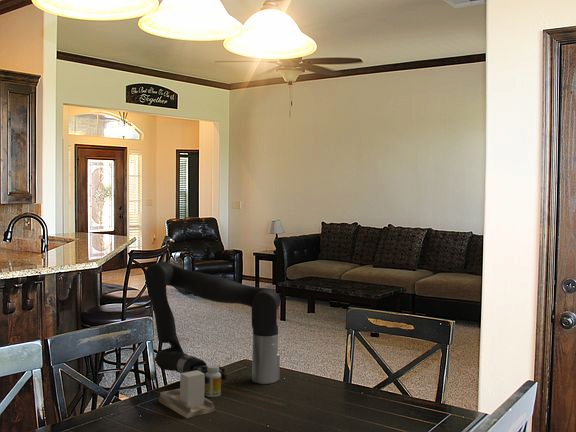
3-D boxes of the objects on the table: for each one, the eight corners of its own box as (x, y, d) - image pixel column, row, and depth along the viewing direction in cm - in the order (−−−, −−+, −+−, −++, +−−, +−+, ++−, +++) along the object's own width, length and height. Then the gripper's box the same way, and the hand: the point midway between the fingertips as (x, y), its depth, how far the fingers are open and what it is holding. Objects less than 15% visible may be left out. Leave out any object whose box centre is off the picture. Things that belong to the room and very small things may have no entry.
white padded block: (195, 400, 198) (196, 369, 198) (204, 405, 194) (204, 373, 194) (179, 404, 194) (179, 372, 194) (187, 409, 190) (187, 377, 190)
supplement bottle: (222, 392, 211) (222, 364, 211) (218, 397, 206) (219, 369, 206) (206, 391, 212) (207, 363, 212) (203, 397, 207) (203, 368, 206)
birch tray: (186, 396, 207) (186, 387, 207) (214, 411, 193) (214, 401, 193) (158, 401, 201) (159, 392, 201) (186, 418, 187) (186, 408, 187)
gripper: (173, 360, 215) (198, 371, 202) (209, 354, 224) (234, 364, 211) (173, 381, 216) (198, 394, 203) (208, 374, 225) (234, 386, 212)
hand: (216, 378), depth 207 cm, fingers open, 6 cm apart
